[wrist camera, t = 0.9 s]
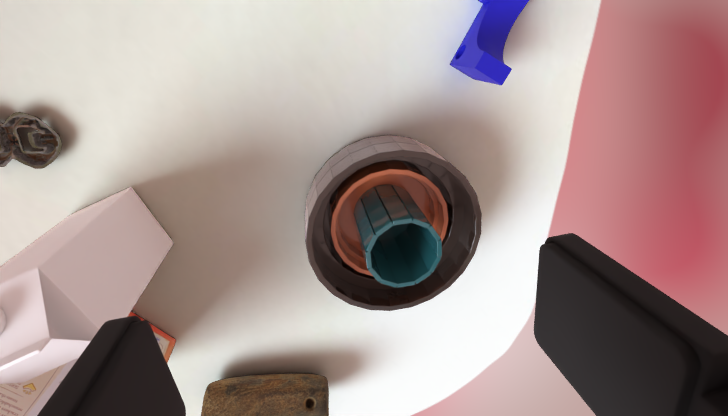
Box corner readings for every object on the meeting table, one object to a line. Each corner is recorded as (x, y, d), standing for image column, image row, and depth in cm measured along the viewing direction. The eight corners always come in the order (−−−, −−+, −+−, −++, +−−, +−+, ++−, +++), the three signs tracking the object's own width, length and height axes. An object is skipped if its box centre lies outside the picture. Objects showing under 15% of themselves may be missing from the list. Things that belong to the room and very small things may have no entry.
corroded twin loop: (-45, 109, 33) (-56, 111, 32) (58, 110, 34) (52, 112, 33) (-24, 166, 35) (-33, 169, 34) (73, 165, 36) (67, 168, 35)
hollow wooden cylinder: (325, 354, 50) (329, 398, 44) (328, 393, 52) (332, 439, 46) (205, 369, 48) (191, 416, 42) (214, 409, 50) (202, 459, 44)
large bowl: (343, 107, 38) (351, 119, 32) (484, 170, 43) (513, 190, 37) (282, 251, 43) (279, 285, 37) (414, 292, 48) (430, 327, 42)
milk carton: (175, 242, 41) (82, 389, 23) (115, 269, 41) (-21, 436, 23) (132, 185, 38) (-11, 306, 20) (67, 215, 38) (-128, 360, 20)
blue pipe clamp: (507, -73, 34) (547, -95, 28) (545, -44, 35) (589, -59, 30) (437, 56, 37) (460, 59, 32) (473, 79, 38) (501, 85, 33)
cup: (369, 174, 40) (386, 208, 32) (425, 196, 42) (455, 233, 34) (343, 230, 42) (353, 275, 34) (398, 248, 44) (420, 295, 36)
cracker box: (32, 301, 41) (-203, 528, 22) (69, 267, 40) (-142, 472, 21) (144, 368, 46) (35, 595, 27) (179, 339, 45) (91, 553, 26)
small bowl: (355, 140, 39) (361, 150, 36) (454, 181, 43) (469, 194, 39) (311, 239, 43) (312, 258, 39) (406, 270, 46) (415, 289, 43)
